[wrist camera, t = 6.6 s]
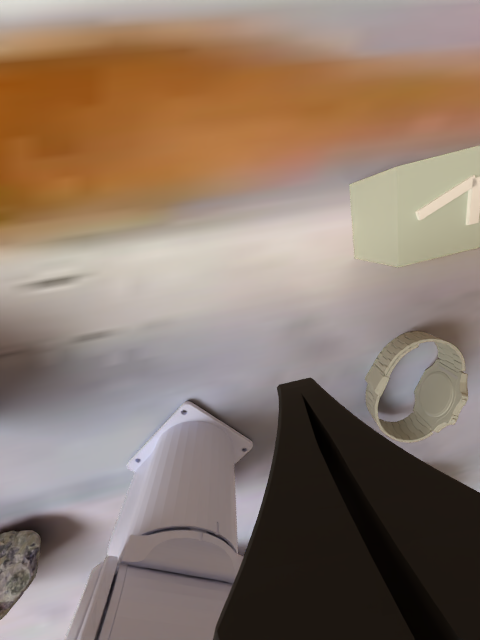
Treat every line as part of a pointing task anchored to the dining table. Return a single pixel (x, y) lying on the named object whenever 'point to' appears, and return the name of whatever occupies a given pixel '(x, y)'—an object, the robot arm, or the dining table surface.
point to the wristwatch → (420, 388)
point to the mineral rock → (17, 565)
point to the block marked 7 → (418, 210)
